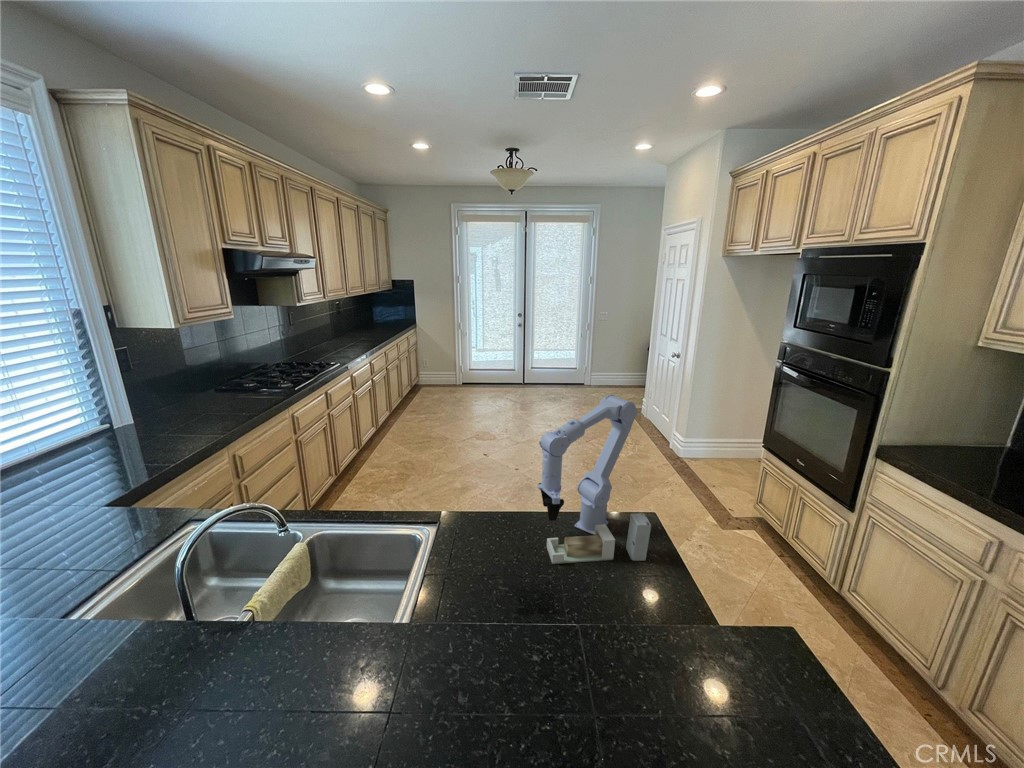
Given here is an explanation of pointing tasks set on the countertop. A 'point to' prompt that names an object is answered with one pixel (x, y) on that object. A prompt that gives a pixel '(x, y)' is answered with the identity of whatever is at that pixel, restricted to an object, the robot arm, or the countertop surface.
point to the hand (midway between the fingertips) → (549, 512)
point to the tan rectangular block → (583, 545)
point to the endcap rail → (560, 556)
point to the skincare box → (638, 537)
